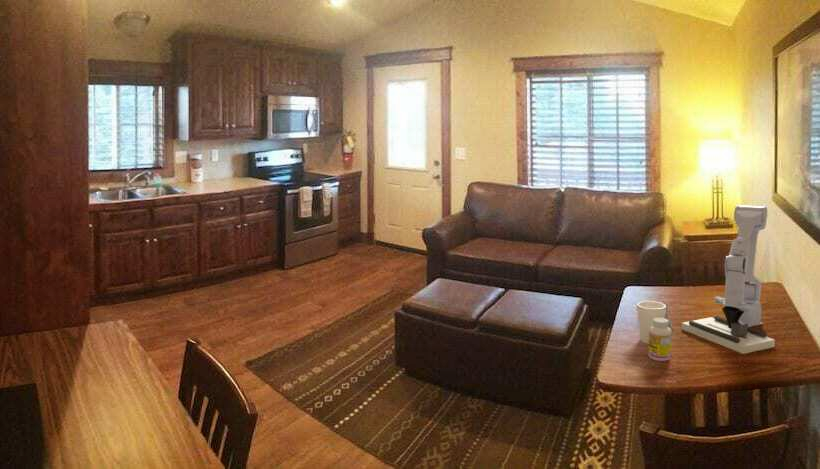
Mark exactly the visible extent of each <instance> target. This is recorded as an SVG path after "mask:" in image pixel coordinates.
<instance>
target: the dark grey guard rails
mask: <svg viewBox="0 0 820 469" xmlns="http://www.w3.org/2000/svg"><path fill="white" fill-rule="evenodd" d="M713 318H714V319H715V320H717V321H720V322H722V323H725V324H728V323H727V319H726V318H724V317H721V316H719V315H715V316H714V317H713ZM688 322H689V325H692V326H694V327H697V328H699V329H702V330H705V331H707V332H710V333H712V334H715V335H718V336H720V337H723V338H726V339H728V340H731V341H733V342H736V343H739V342H740V339H739V338H736V337H734V336H731V335H728V334H726V333H723V332H720V331H718V330H715V329H712V328H710V327H707V326H704V325H702V324H699V323H696V322H694V320H689V321H688ZM748 332H751V333H753V334H756V335H759V336H762V337H768V333H767V332H765V331H762V330H759V329H756V328H753V327H748Z"/></svg>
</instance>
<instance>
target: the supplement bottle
mask: <svg viewBox="0 0 820 469" xmlns="http://www.w3.org/2000/svg"><path fill="white" fill-rule="evenodd" d="M653 324H654V325H653V326H651V327H650V329H649V344H648V358H650V359H651V360H653V361H658V362H666V361H669V360H670V359H671V354H672V334H673V331H671V329H670V328H669V327H668V325H669V320H668V319H665V318H654V319H653Z"/></svg>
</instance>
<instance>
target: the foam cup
mask: <svg viewBox="0 0 820 469" xmlns="http://www.w3.org/2000/svg"><path fill="white" fill-rule="evenodd" d="M660 302H661V301H660ZM660 302H659V301H654V300H643V301H639V302H637V303H636V312H637V320H638V321H637V322H638V329H639V340H640V342H642V343H644V344H648V345H649V329H650V327H651V326H653V325H654V324H653V319H654V318H665V313H666V305H665V304H663V303H660Z"/></svg>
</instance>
